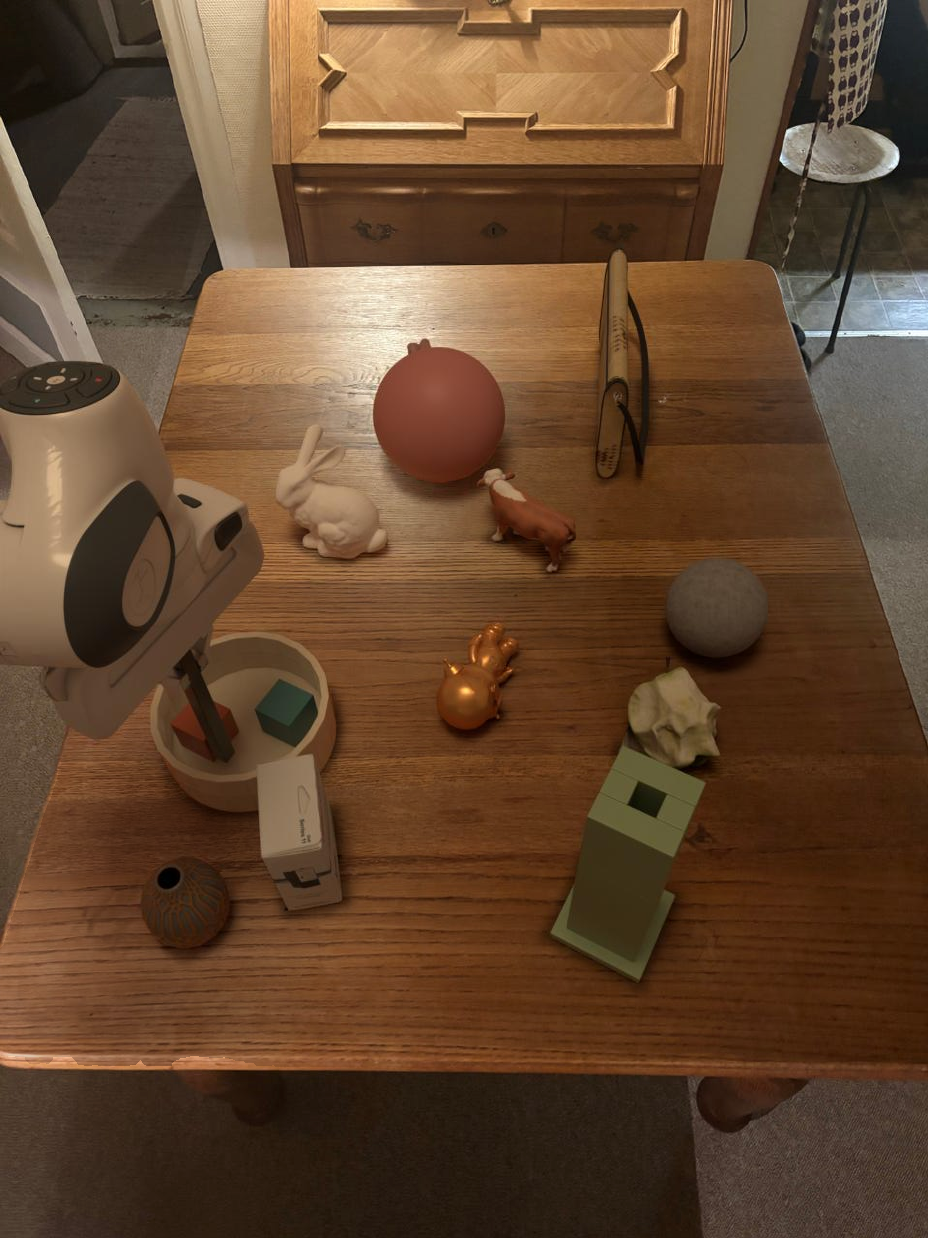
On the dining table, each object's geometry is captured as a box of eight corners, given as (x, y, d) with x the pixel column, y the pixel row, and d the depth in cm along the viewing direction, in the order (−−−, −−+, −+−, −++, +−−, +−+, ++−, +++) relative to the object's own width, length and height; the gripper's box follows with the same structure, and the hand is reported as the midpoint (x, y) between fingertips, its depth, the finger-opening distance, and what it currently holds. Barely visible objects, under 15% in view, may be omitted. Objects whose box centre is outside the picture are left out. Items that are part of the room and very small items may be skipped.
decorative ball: (736, 594, 99) (758, 531, 91) (769, 669, 93) (795, 608, 85) (647, 607, 98) (660, 544, 90) (674, 683, 92) (691, 623, 84)
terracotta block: (214, 763, 87) (203, 741, 84) (181, 745, 88) (169, 724, 85) (239, 730, 89) (230, 708, 86) (207, 714, 90) (197, 692, 87)
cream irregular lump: (628, 698, 92) (649, 643, 87) (718, 732, 91) (745, 677, 85) (605, 764, 86) (626, 708, 80) (701, 801, 84) (729, 747, 79)
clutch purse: (651, 491, 109) (671, 389, 97) (592, 488, 109) (604, 386, 98) (647, 341, 127) (663, 240, 115) (596, 339, 127) (607, 238, 116)
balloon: (491, 396, 120) (491, 291, 108) (512, 503, 108) (515, 398, 96) (374, 406, 120) (361, 302, 108) (382, 515, 107) (369, 411, 95)
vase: (142, 947, 77) (107, 909, 70) (177, 871, 81) (147, 828, 74) (218, 967, 76) (190, 930, 69) (249, 888, 80) (226, 846, 73)
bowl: (271, 842, 82) (258, 812, 78) (131, 765, 88) (111, 733, 83) (369, 706, 91) (362, 672, 86) (236, 643, 96) (223, 608, 92)
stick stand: (638, 984, 74) (683, 878, 57) (549, 937, 77) (566, 822, 59) (673, 899, 78) (725, 776, 61) (588, 857, 81) (614, 728, 64)
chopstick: (226, 763, 85) (174, 649, 71) (214, 757, 86) (160, 642, 72) (235, 752, 86) (186, 637, 72) (224, 746, 86) (172, 630, 72)
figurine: (544, 658, 93) (506, 741, 85) (502, 675, 97) (462, 757, 89) (492, 599, 91) (448, 678, 82) (452, 619, 95) (405, 697, 86)
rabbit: (279, 547, 105) (258, 469, 95) (316, 493, 110) (300, 414, 100) (375, 575, 102) (363, 498, 92) (408, 518, 107) (400, 439, 98)
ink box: (280, 822, 84) (254, 758, 74) (334, 813, 84) (314, 748, 75) (286, 915, 78) (258, 858, 69) (343, 904, 79) (324, 846, 69)
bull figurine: (492, 505, 108) (492, 452, 102) (580, 562, 102) (586, 511, 96) (466, 524, 106) (465, 472, 100) (555, 584, 100) (559, 533, 94)
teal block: (296, 748, 87) (288, 726, 84) (262, 731, 89) (254, 709, 86) (319, 716, 90) (313, 694, 86) (286, 700, 91) (279, 678, 88)
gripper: (67, 689, 58) (133, 791, 69) (260, 490, 69) (291, 605, 80) (-4, 652, 60) (72, 757, 71) (194, 464, 71) (234, 580, 82)
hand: (189, 675), depth 76 cm, fingers closed on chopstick, 1 cm apart
